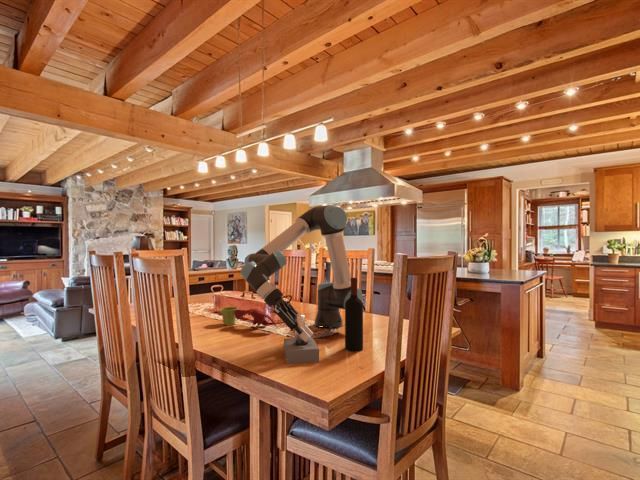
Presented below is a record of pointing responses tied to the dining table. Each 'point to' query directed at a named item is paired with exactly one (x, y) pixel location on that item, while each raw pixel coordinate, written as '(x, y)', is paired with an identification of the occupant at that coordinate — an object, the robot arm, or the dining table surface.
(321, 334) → the dining table surface
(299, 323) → the steel pin
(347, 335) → the wine bottle
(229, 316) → the plant pot
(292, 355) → the charcoal hole block
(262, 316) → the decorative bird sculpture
